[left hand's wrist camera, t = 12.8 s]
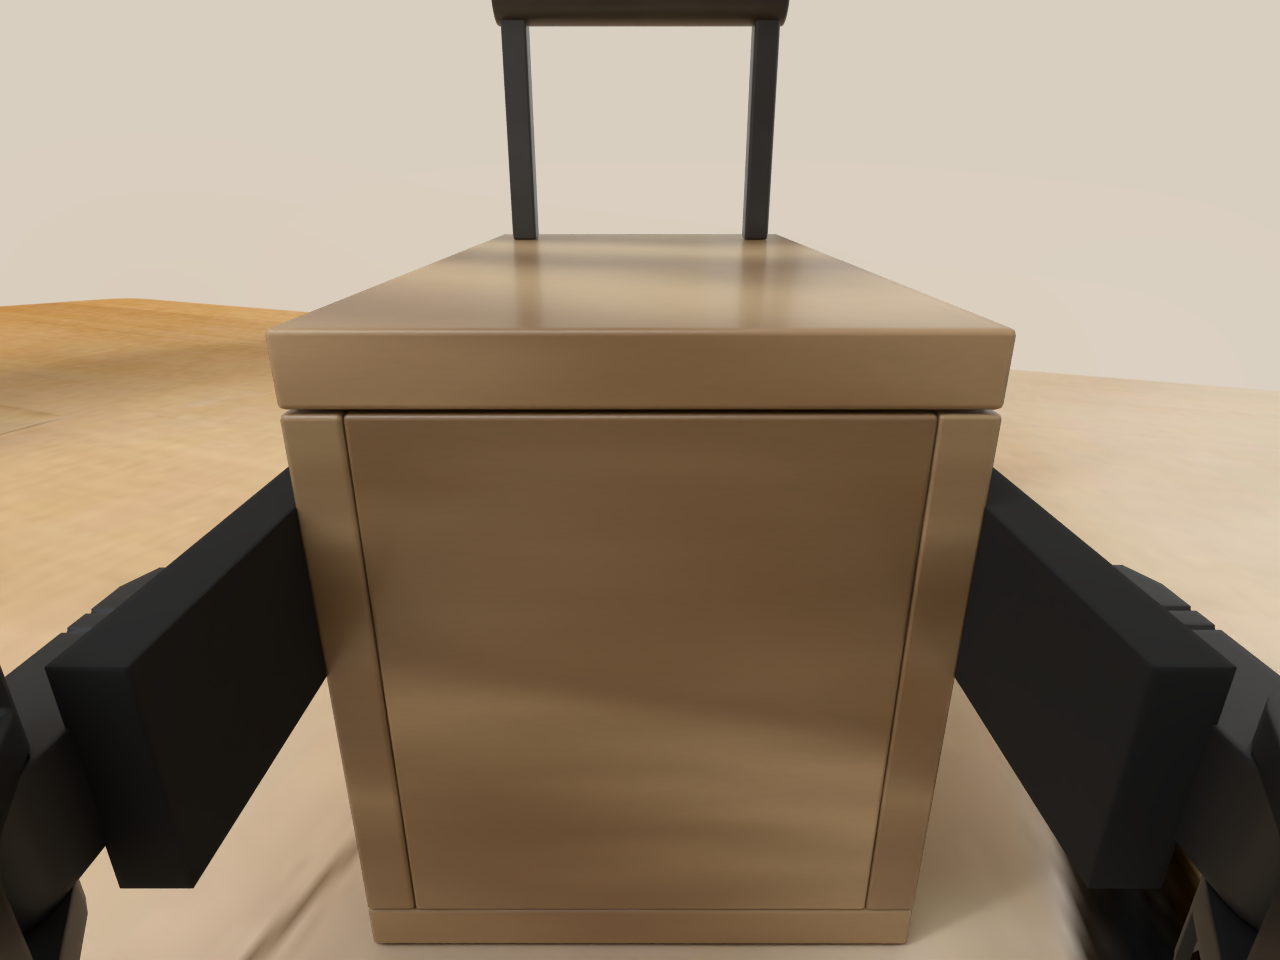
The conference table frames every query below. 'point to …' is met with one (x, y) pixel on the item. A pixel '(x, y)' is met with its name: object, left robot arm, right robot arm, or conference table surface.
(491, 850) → the chest
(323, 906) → the conference table surface
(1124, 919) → the conference table surface
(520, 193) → the lid
